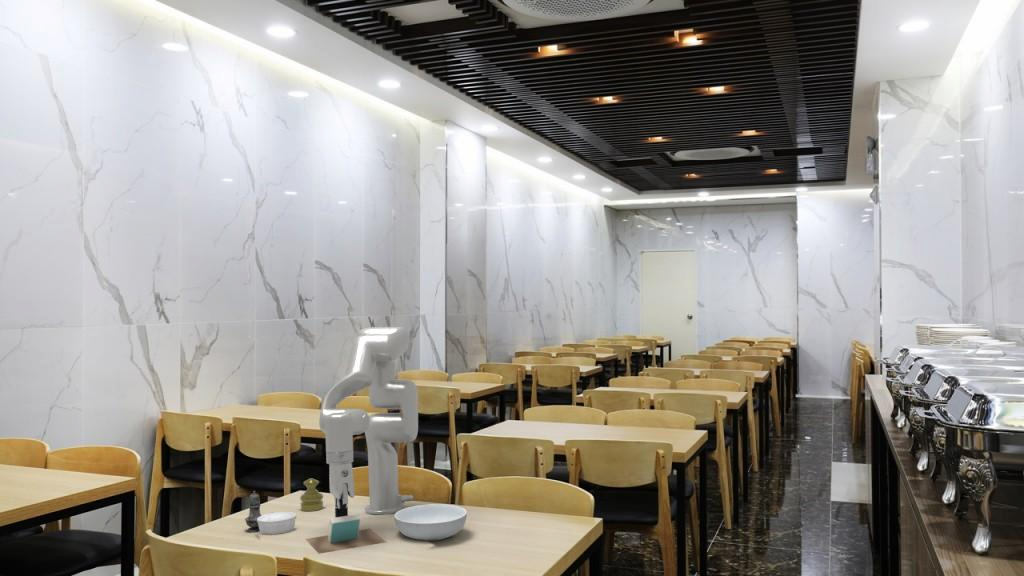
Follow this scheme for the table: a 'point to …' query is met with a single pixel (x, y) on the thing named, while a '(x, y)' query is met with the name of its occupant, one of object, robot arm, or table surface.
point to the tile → (343, 528)
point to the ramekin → (276, 522)
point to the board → (345, 542)
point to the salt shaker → (253, 513)
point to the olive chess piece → (311, 496)
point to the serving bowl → (430, 521)
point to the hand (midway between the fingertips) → (341, 521)
